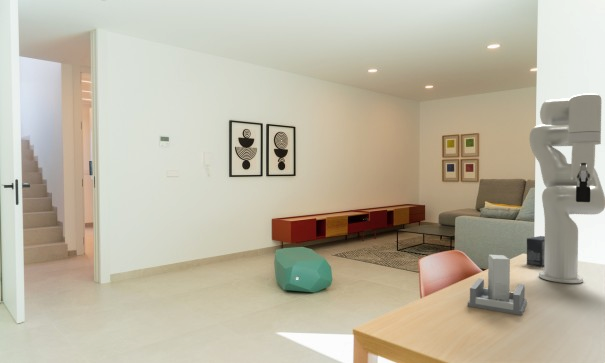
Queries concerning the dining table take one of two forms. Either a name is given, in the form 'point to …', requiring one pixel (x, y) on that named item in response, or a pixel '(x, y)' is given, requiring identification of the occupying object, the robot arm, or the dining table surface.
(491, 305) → the rest
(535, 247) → the small box
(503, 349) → the dining table surface
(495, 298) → the skincare box
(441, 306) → the dining table surface
